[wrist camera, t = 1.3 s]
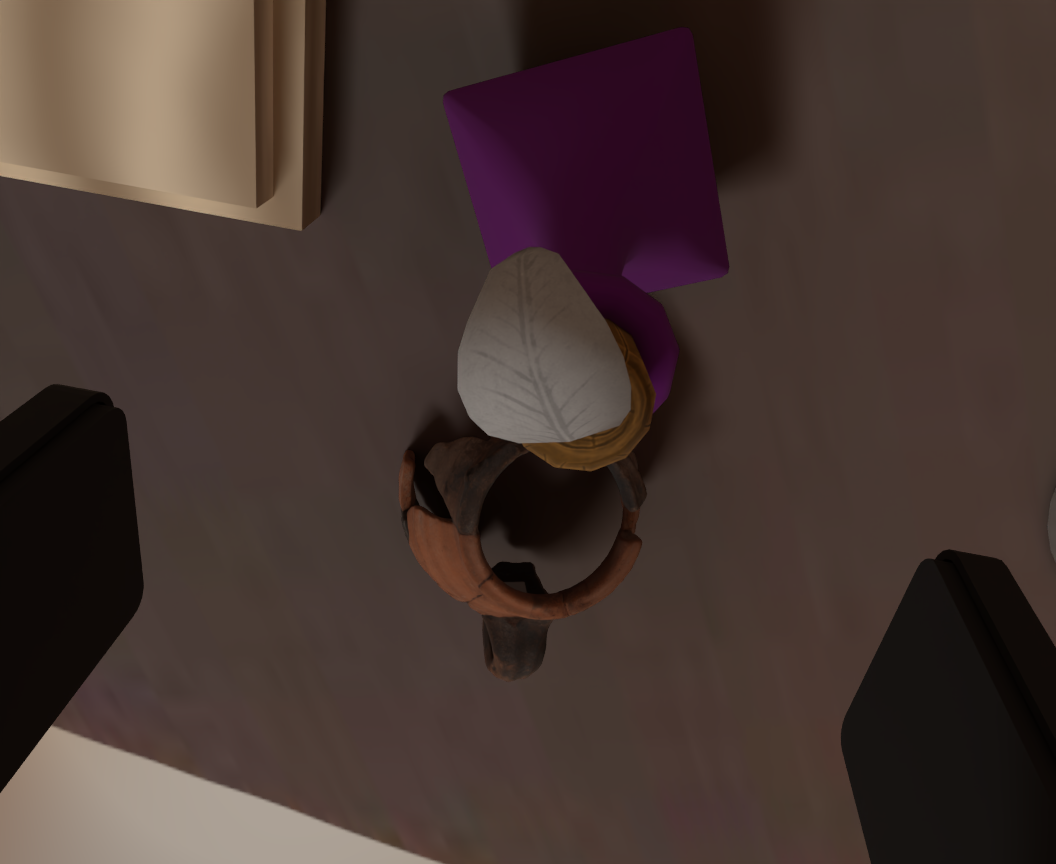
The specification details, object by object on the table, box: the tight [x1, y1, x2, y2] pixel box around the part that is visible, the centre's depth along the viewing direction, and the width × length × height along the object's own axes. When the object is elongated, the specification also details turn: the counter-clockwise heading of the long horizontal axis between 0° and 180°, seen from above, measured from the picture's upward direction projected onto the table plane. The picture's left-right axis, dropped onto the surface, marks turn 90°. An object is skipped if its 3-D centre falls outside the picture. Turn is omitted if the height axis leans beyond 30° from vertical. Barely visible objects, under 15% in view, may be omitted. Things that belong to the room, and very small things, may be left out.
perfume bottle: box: [443, 27, 729, 471], centre depth 21 cm, size 8×8×18 cm
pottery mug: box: [399, 436, 647, 682], centre depth 34 cm, size 12×10×8 cm
